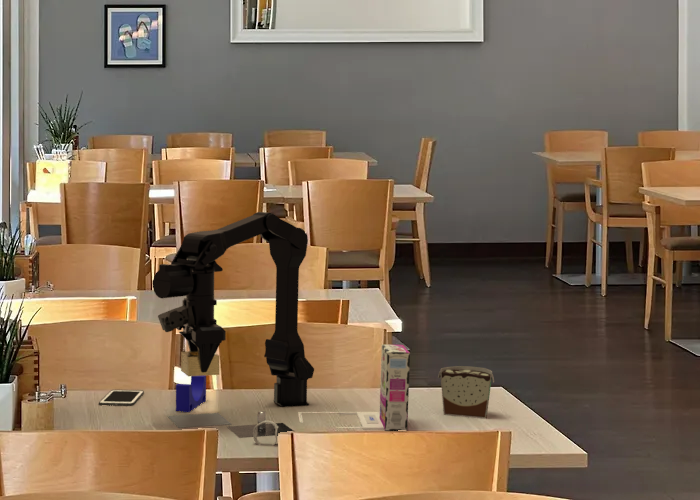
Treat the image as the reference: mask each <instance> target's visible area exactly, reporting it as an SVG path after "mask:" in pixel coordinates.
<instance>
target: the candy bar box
mask: <svg viewBox="0 0 700 500" xmlns="http://www.w3.org/2000/svg"><path fill="white" fill-rule="evenodd" d="M380 357H381V360H380V361H381V364H380V385H379V386H380V390H379V391H380V392H379V393H380V394H379V412H380V420H381V422H382V424H383V427H384V430H383V431H385V432H399V431H398V430H407V431H408V424H409V423H408V419H409V417H408V416H409V395H410V394H409V393H410V391H409V390H410V367H411V366H410V363H411V352H410V351H409V350H408V349H407V347H406V346H405V345H404V344H396V343H395V344H390V343H389V344H386V343H385V344H381V356H380Z"/></svg>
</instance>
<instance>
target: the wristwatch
mask: <svg viewBox="0 0 700 500" xmlns="http://www.w3.org/2000/svg"><path fill="white" fill-rule="evenodd" d="M262 423H266V424H272V425H273V426H274V427H275V436H274V437H275V442H274V443H273V444H272V446H275V445H276V444H278V443H277V436H278V433H280V429H279V427H278V426H277V424H276V423H277V422H274V421H272V420H266V421H263V422H261V423H259V424H258V423H257V425H256V424H255V425H256V426H255V427H254V430H253V437H252V438H253V441H254V443H255V444H256V445H261V444H262V442H261V441H259V440H258V437H257V431H256V428H257V426H258V425H261V424H262Z"/></svg>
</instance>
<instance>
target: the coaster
mask: <svg viewBox="0 0 700 500" xmlns="http://www.w3.org/2000/svg"><path fill="white" fill-rule="evenodd" d="M167 418H168V419H169V420H170V421H171V422H172V423H173V424H174V425H175V426H176V427H177V428H178V429H186V428H200V427H202V428H203V427H214V426H215V427H217V426H233V425H232V424H233V423H231V422H230V421H229V420H227V418H226V417H224V416H223V415H222V414H221V413H219V412H209V413H208V412H207V413H193V414H191V413H190V414H174V415H167Z"/></svg>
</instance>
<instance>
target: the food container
mask: <svg viewBox="0 0 700 500" xmlns="http://www.w3.org/2000/svg"><path fill="white" fill-rule="evenodd" d="M437 375H438V376H437V379H440V384H441V385H440V386H441V399H442V411H443V416H452V417H453V416H454V417H464V418H477V419H487V418H488V417H487V416H488V409H489V403H490V394H491V393H490V392H491V385H492V383H495V378H494V374H493V371H492V370H491V369H488V368H486V367H479V366H478V367H477V366H468V365H467V366H463V365H461V366H460V365H459V366H457V365H455V366H446V367H445V366H444V367H442V368H440V371H438V374H437Z"/></svg>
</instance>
